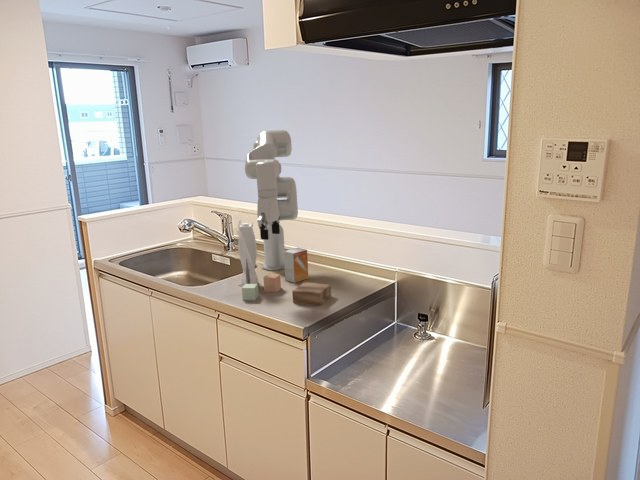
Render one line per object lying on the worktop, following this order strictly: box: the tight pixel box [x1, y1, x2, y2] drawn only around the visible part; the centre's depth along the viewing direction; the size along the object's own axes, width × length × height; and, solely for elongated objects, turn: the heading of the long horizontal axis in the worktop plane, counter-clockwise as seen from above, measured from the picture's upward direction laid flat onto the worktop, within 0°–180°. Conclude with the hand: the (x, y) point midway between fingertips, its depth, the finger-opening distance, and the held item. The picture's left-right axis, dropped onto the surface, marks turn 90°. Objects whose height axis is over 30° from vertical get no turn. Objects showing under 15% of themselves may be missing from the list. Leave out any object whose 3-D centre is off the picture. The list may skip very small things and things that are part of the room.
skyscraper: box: [237, 218, 262, 288], centre depth 211 cm, size 8×8×28 cm
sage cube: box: [241, 284, 259, 301], centre depth 196 cm, size 5×5×5 cm
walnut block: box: [292, 281, 332, 307], centre depth 192 cm, size 11×11×5 cm
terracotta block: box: [263, 273, 282, 293], centre depth 205 cm, size 5×5×6 cm
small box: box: [284, 247, 309, 284], centre depth 216 cm, size 8×6×13 cm
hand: (270, 236), depth 200 cm, fingers open, 9 cm apart
